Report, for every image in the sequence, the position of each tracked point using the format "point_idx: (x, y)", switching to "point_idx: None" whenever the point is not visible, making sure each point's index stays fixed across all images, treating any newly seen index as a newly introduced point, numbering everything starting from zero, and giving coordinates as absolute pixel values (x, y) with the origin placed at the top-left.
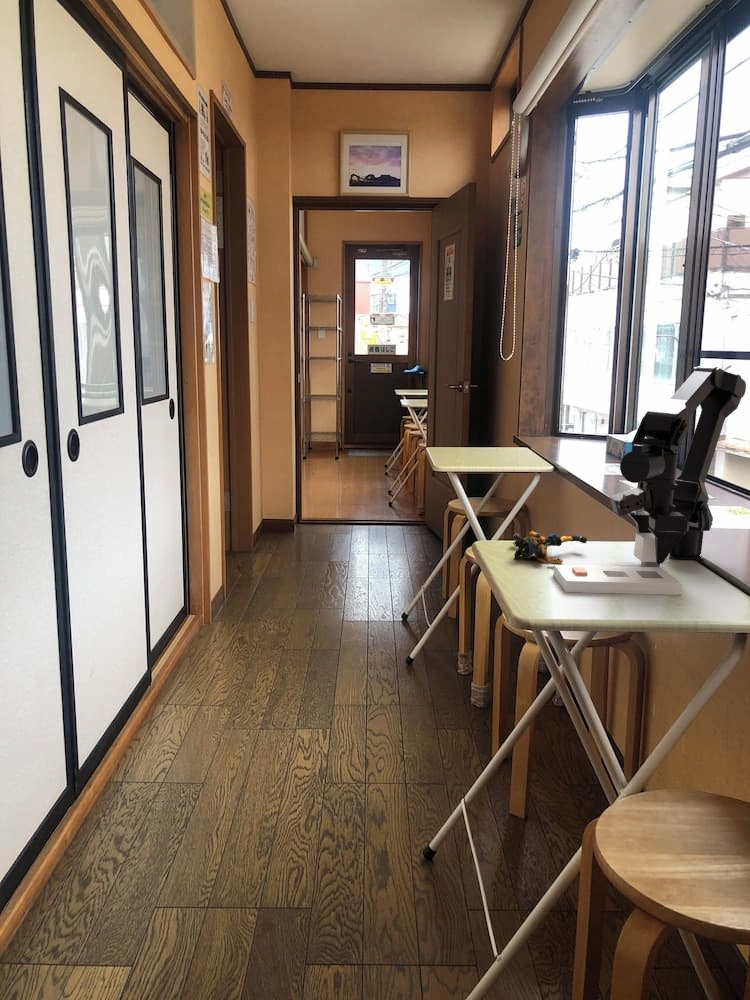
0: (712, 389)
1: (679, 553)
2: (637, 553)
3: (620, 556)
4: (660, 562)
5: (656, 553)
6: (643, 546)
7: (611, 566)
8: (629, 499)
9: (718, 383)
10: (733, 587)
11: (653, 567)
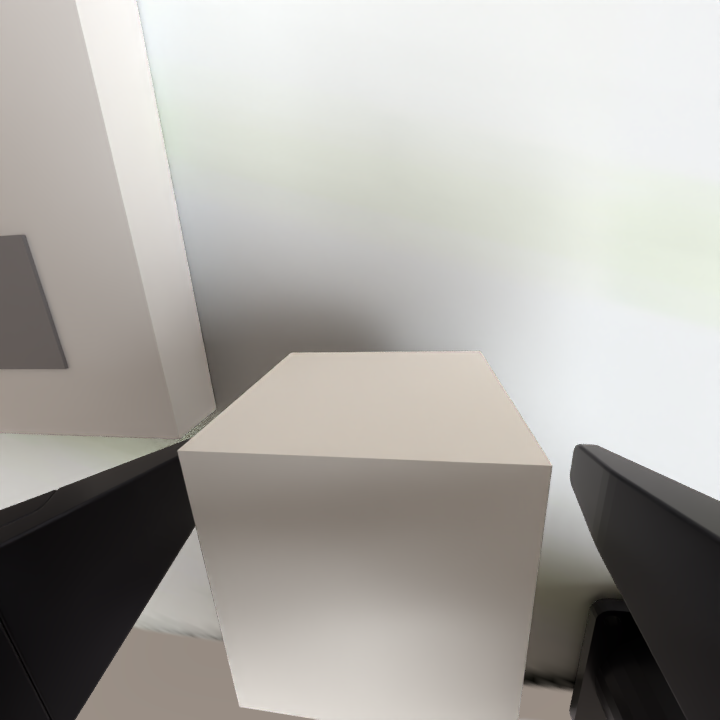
0: None
1: (627, 662)
2: (392, 363)
3: (715, 301)
4: None
5: (144, 461)
6: (234, 407)
7: (74, 44)
8: None
9: None
10: (167, 629)
11: (161, 387)
